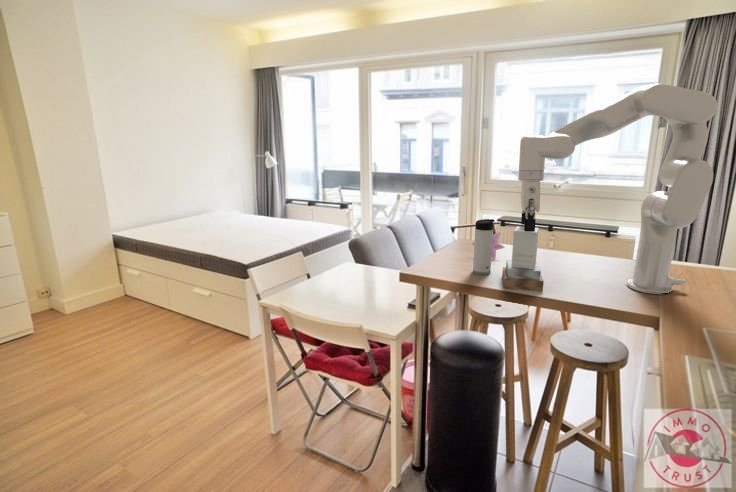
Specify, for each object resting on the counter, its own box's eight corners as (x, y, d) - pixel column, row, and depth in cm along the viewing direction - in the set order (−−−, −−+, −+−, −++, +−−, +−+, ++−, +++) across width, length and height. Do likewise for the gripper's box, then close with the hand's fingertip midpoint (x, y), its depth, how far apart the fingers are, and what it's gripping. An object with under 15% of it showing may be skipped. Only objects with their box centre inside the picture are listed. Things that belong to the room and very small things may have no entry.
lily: (468, 255, 182) (468, 239, 175) (488, 241, 186) (488, 225, 179) (489, 270, 174) (490, 254, 168) (510, 255, 178) (511, 239, 171)
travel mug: (491, 275, 154) (495, 221, 149) (473, 274, 156) (475, 221, 150) (490, 270, 160) (494, 217, 155) (472, 269, 162) (475, 217, 156)
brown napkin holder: (537, 278, 151) (539, 261, 149) (542, 291, 139) (544, 272, 138) (502, 276, 153) (503, 259, 152) (504, 288, 142) (505, 270, 141)
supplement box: (536, 263, 146) (539, 227, 143) (534, 270, 140) (537, 232, 137) (513, 260, 150) (516, 225, 146) (510, 267, 143) (513, 230, 140)
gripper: (547, 178, 127) (543, 234, 132) (539, 172, 144) (536, 222, 148) (521, 179, 129) (517, 233, 134) (516, 172, 145) (513, 221, 150)
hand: (527, 227), depth 141 cm, fingers open, 9 cm apart
